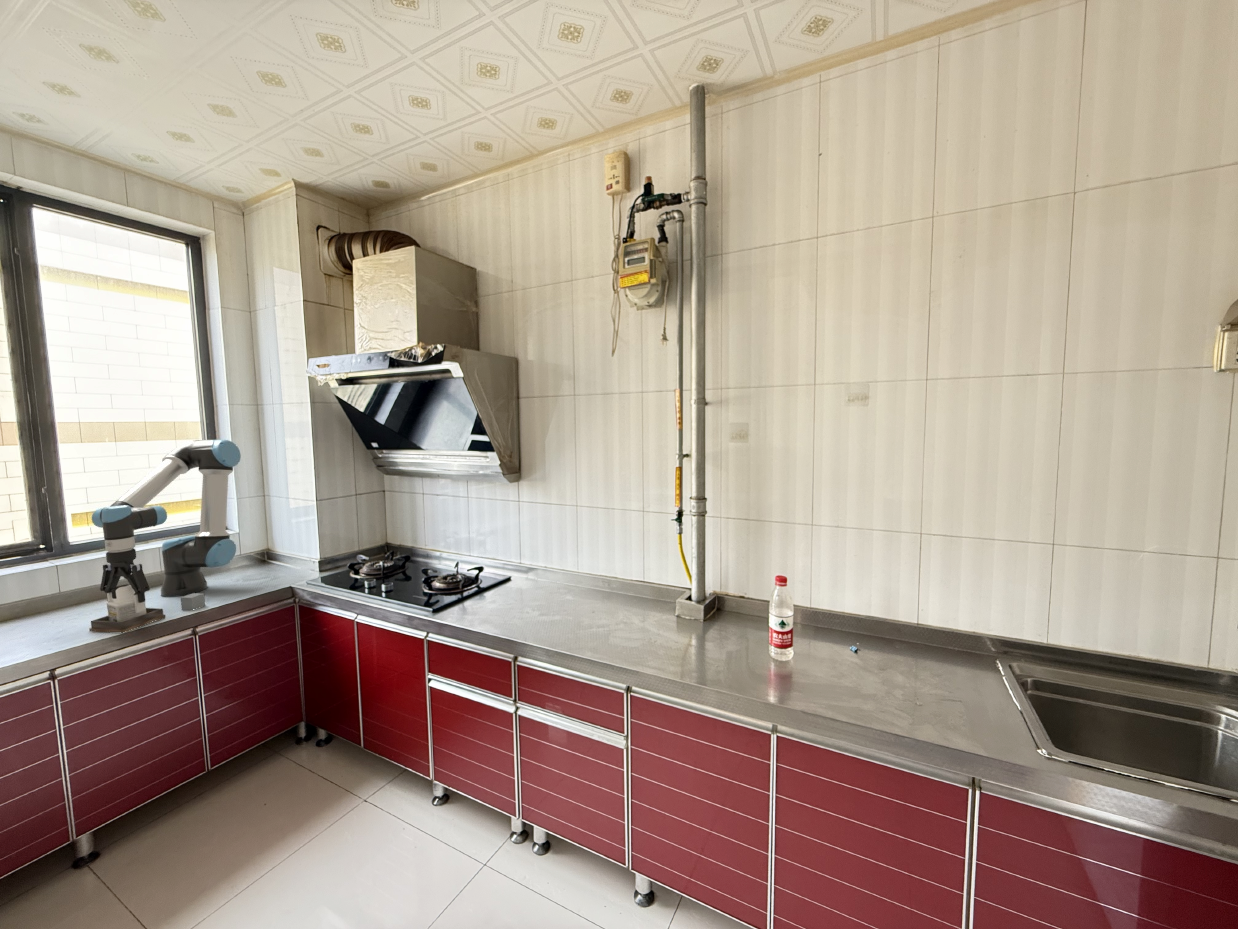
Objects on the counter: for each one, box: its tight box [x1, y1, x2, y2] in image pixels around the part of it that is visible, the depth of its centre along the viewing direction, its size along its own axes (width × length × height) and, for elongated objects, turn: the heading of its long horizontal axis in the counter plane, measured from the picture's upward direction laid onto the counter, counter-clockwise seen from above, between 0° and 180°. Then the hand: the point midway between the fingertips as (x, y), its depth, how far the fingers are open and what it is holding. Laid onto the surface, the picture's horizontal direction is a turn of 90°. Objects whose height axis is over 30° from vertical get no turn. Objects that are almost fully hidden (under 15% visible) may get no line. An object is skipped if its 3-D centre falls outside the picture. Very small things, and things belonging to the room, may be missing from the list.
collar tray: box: [89, 607, 166, 634], centre depth 182 cm, size 14×14×4 cm
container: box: [106, 583, 147, 622], centre depth 181 cm, size 8×8×13 cm
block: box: [179, 592, 206, 611], centre depth 197 cm, size 5×5×5 cm
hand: (127, 610), depth 181 cm, fingers open, 11 cm apart
